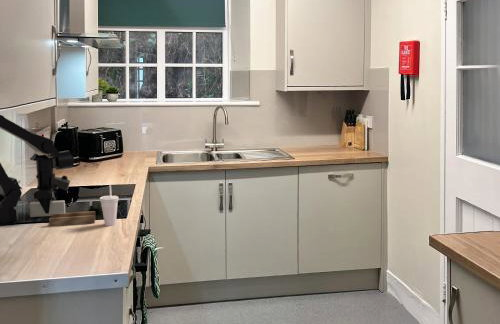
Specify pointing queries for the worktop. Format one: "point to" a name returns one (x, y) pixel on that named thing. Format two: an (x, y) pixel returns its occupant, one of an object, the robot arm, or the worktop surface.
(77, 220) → the wooden block
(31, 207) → the clay strip
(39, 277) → the worktop surface
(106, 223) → the smoothie
